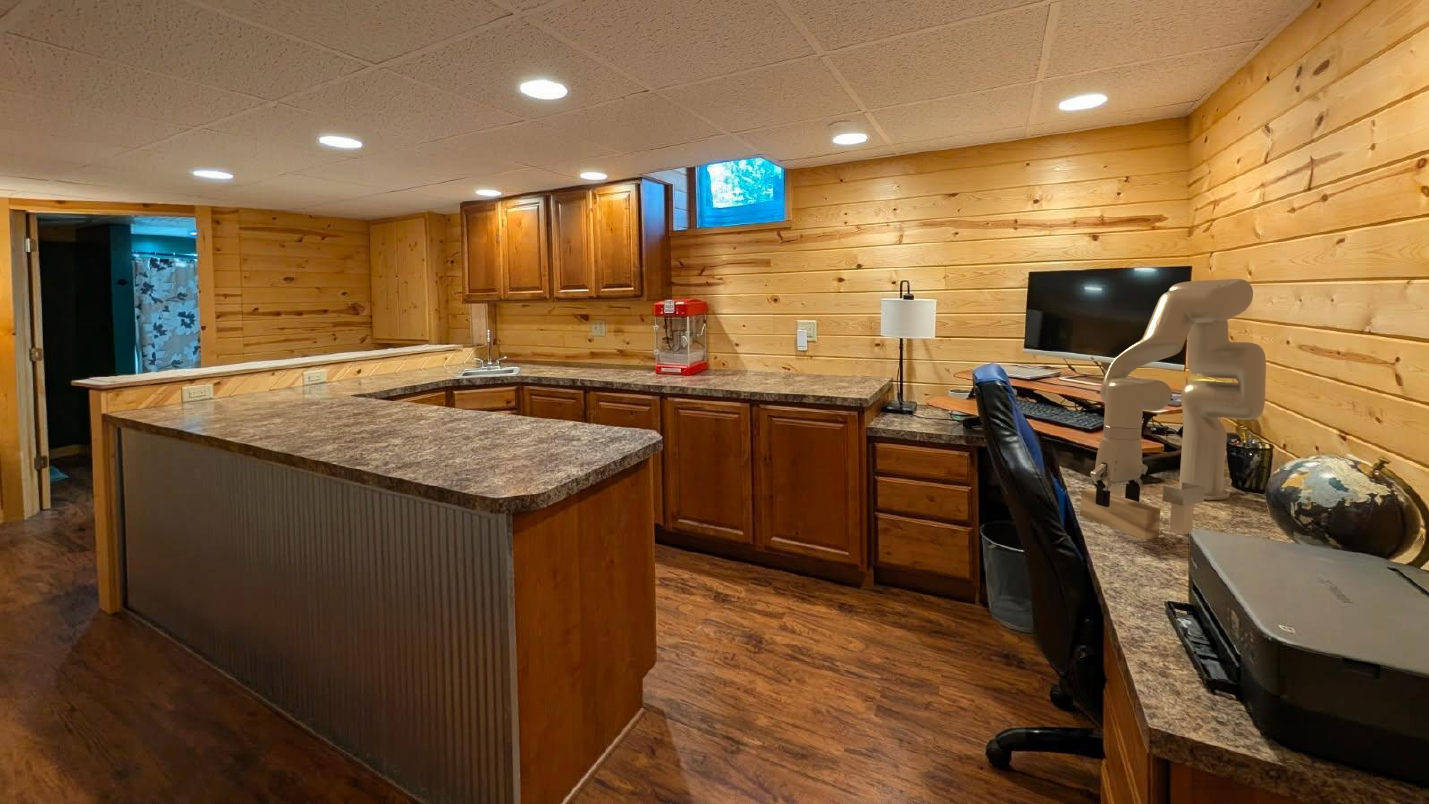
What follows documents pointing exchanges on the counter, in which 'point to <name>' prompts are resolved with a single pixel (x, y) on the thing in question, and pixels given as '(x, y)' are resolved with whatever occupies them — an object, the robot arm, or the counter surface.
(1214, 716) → the counter surface
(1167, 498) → the bracket stand
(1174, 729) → the counter surface
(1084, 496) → the rail
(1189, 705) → the counter surface
